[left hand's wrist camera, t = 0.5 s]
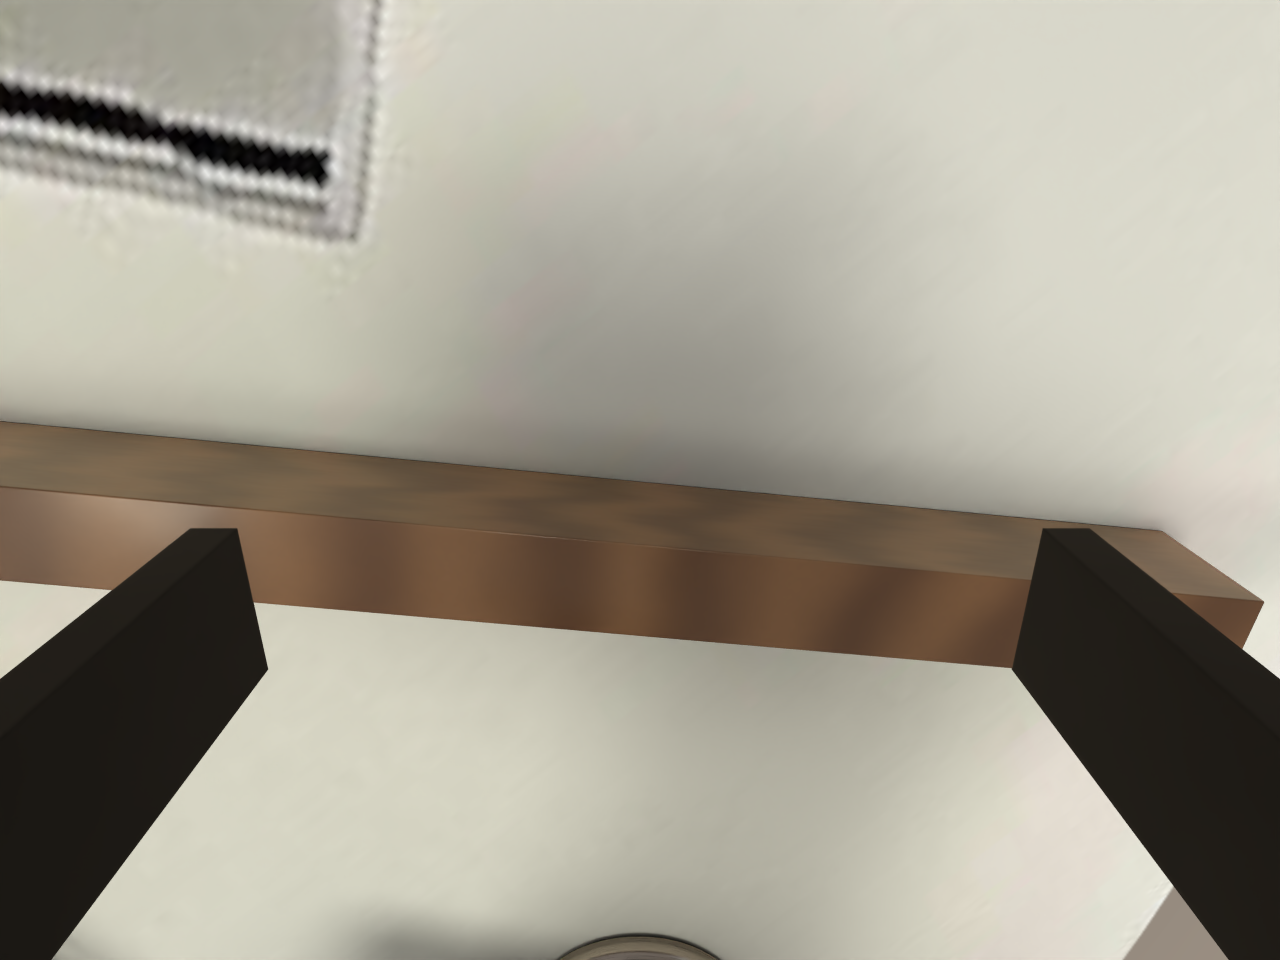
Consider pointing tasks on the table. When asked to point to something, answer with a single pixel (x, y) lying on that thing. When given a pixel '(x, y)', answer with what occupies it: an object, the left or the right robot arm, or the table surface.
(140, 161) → the table surface
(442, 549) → the post
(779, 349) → the table surface
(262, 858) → the table surface
